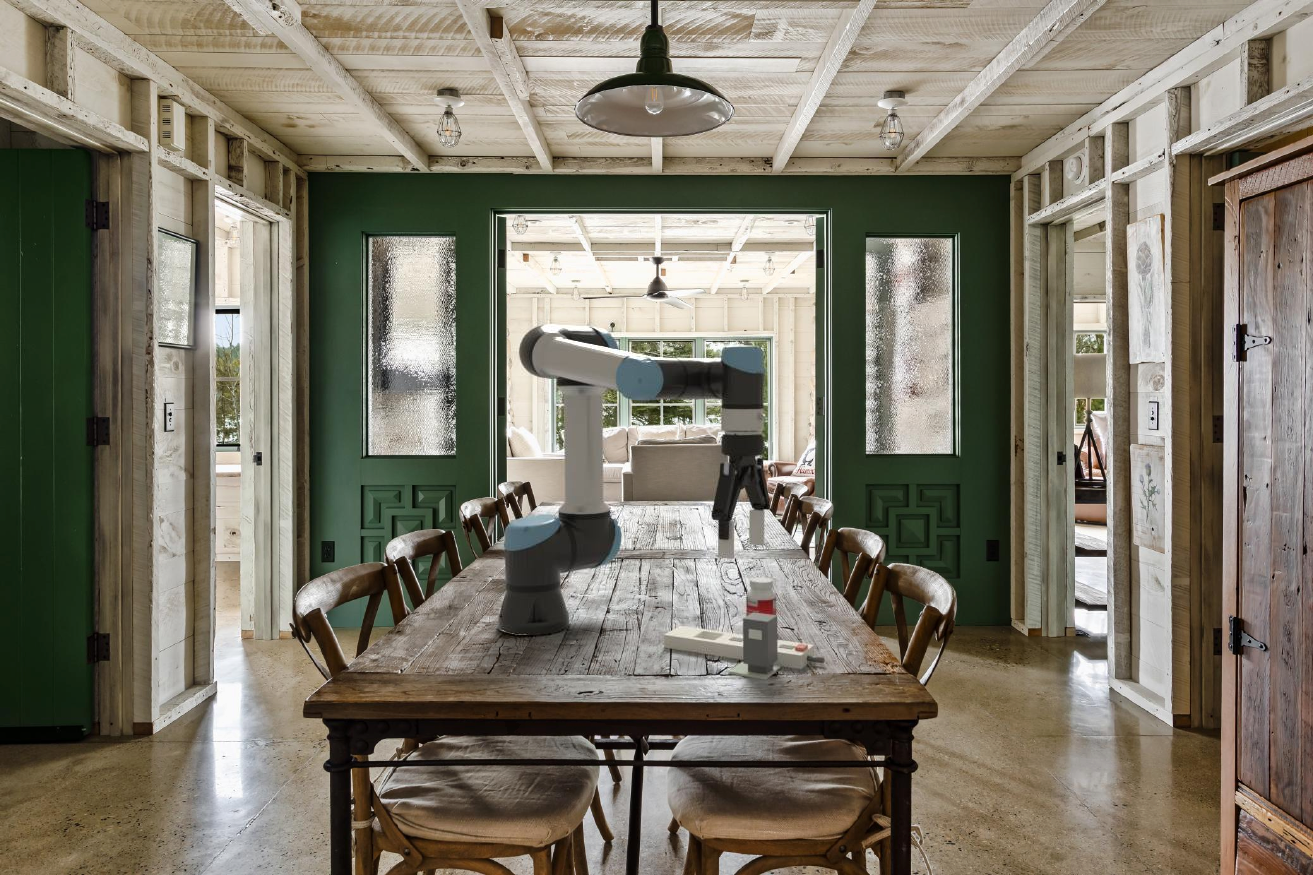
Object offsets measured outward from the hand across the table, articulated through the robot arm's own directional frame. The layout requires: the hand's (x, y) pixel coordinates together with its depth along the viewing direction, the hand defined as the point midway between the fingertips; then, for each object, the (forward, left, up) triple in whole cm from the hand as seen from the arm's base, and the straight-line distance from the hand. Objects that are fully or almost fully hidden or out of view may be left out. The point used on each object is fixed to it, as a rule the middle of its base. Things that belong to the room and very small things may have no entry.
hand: (742, 551), depth 147 cm
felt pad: (+3, -1, -21) cm, 21 cm away
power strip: (-3, +7, -21) cm, 22 cm away
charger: (+4, -1, -21) cm, 21 cm away
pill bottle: (-5, +21, -21) cm, 31 cm away
